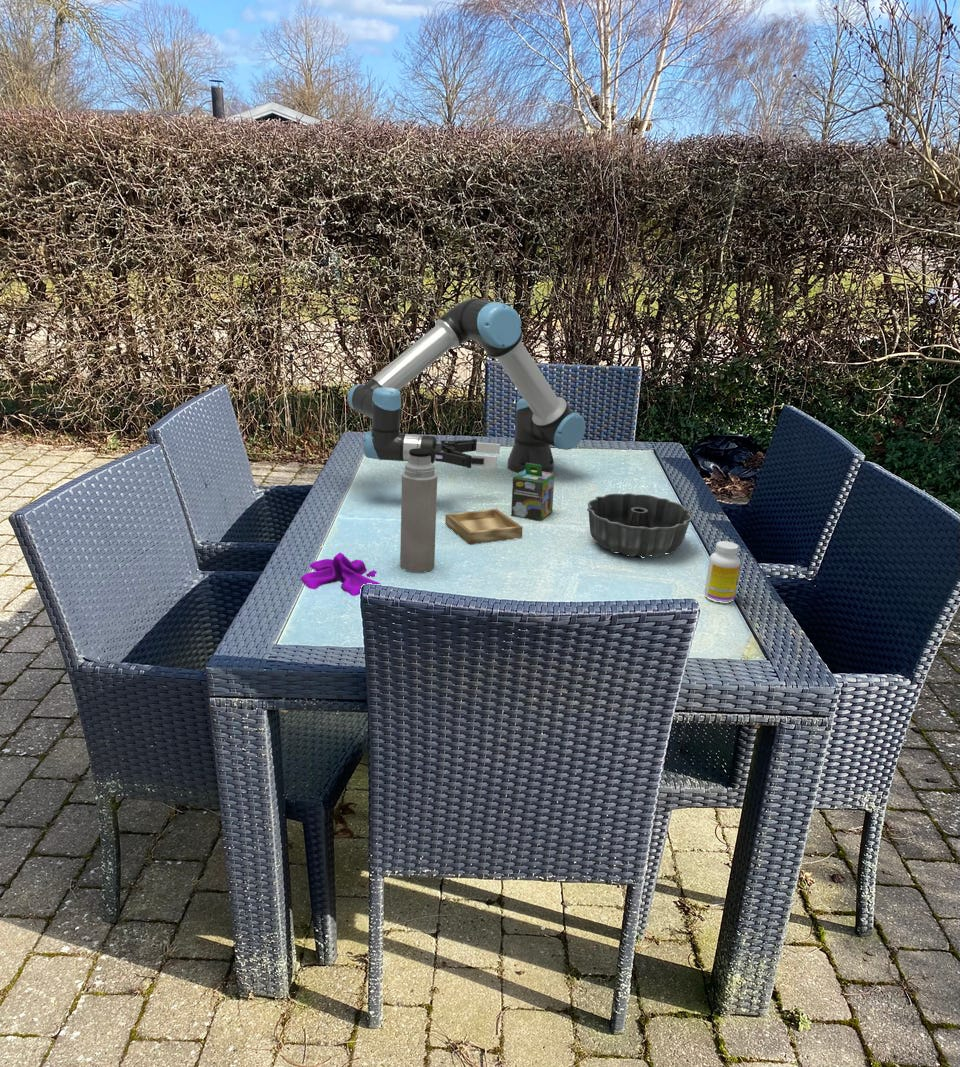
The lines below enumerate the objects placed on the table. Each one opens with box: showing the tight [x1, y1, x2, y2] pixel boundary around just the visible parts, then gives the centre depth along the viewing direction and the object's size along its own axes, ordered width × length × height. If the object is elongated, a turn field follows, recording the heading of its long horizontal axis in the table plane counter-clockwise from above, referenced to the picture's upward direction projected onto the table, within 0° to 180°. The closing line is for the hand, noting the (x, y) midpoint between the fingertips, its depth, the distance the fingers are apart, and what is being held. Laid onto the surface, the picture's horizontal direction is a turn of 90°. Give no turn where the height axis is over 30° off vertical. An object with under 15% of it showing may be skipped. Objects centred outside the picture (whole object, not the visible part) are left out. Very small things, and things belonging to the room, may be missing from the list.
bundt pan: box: [586, 492, 693, 558], centre depth 227 cm, size 26×26×10 cm
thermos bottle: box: [399, 448, 438, 573], centre depth 203 cm, size 8×8×28 cm
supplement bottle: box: [704, 540, 741, 602], centre depth 197 cm, size 7×7×13 cm
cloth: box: [300, 552, 381, 597], centre depth 201 cm, size 22×19×6 cm
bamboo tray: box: [444, 508, 524, 545], centre depth 232 cm, size 15×15×3 cm
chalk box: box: [510, 463, 555, 522], centre depth 245 cm, size 9×9×15 cm
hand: (498, 455), depth 242 cm, fingers open, 13 cm apart
